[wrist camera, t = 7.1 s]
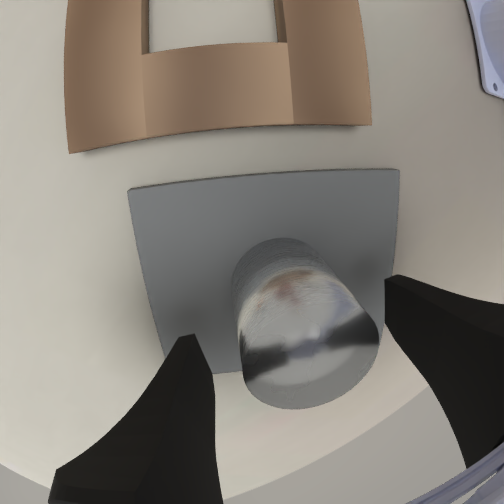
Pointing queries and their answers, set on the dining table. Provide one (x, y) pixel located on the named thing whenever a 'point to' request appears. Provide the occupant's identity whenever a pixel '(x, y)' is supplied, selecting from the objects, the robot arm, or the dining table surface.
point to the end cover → (298, 326)
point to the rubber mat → (252, 233)
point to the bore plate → (210, 74)
